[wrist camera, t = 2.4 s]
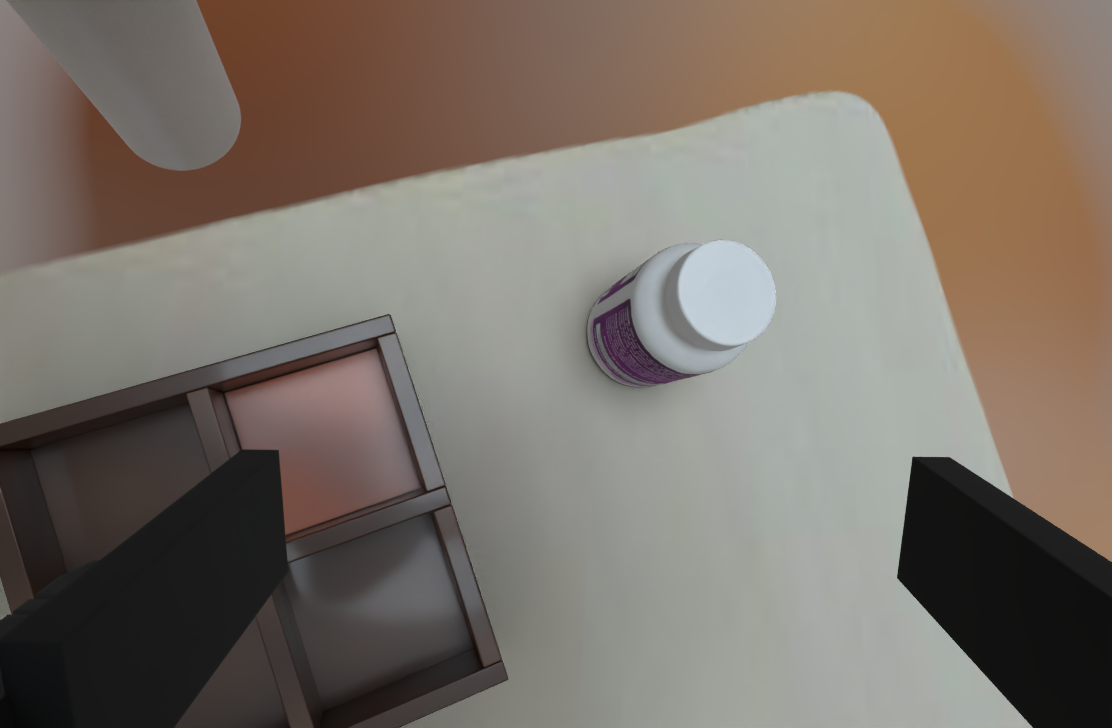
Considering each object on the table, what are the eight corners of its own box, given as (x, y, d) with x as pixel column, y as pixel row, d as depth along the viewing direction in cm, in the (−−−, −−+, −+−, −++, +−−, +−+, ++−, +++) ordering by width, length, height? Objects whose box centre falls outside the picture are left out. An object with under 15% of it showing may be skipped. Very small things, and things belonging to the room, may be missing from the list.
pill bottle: (678, 398, 35) (785, 380, 26) (576, 376, 34) (649, 349, 25) (693, 293, 36) (802, 240, 27) (594, 269, 35) (672, 204, 26)
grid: (9, 437, 28) (-44, 435, 25) (389, 327, 32) (390, 313, 29) (122, 813, 28) (86, 865, 24) (494, 654, 32) (508, 680, 28)
